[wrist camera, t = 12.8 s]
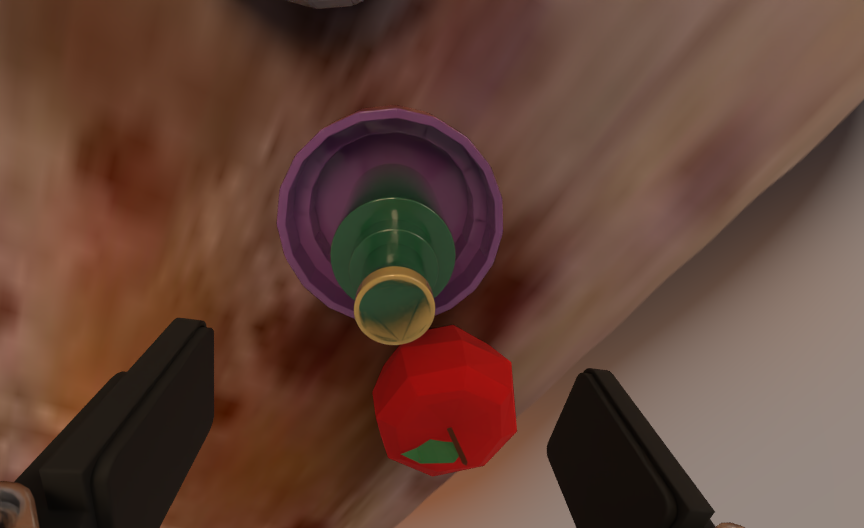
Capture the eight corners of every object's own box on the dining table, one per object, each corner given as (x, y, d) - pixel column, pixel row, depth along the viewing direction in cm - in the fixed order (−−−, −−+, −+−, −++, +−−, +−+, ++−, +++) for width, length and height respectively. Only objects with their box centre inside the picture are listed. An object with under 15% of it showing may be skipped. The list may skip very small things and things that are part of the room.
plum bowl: (443, 70, 25) (455, 66, 21) (509, 247, 30) (530, 276, 26) (257, 156, 26) (229, 171, 22) (352, 314, 31) (345, 353, 27)
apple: (516, 317, 33) (564, 406, 24) (481, 417, 37) (511, 526, 28) (385, 298, 31) (384, 385, 22) (364, 405, 35) (355, 518, 26)
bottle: (415, 148, 26) (438, 206, 13) (449, 228, 29) (497, 342, 16) (331, 186, 27) (278, 276, 14) (372, 261, 29) (358, 398, 16)
